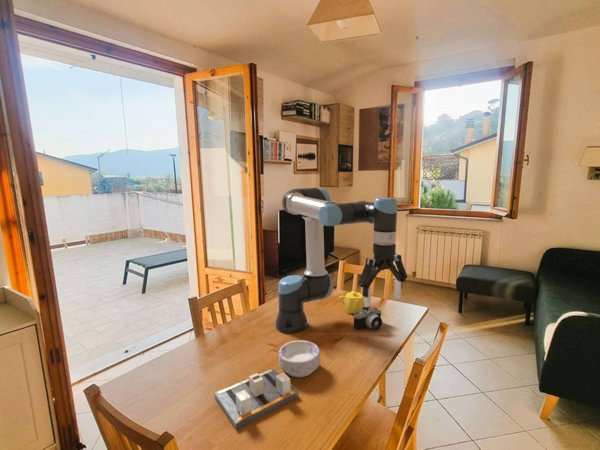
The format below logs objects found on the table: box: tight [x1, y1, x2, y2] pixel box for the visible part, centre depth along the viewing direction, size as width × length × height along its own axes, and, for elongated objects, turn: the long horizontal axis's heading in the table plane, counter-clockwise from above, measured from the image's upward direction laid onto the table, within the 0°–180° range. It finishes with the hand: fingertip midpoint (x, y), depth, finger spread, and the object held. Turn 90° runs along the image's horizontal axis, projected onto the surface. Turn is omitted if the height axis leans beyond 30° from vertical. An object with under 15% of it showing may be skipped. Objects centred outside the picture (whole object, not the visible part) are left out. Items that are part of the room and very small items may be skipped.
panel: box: [214, 368, 300, 430], centre depth 103 cm, size 16×22×7 cm
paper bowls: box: [278, 339, 321, 378], centre depth 118 cm, size 15×15×8 cm
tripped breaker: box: [248, 372, 264, 397], centre depth 103 cm, size 4×3×5 cm
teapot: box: [339, 290, 366, 315], centre depth 167 cm, size 14×13×10 cm
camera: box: [353, 305, 383, 331], centre depth 149 cm, size 16×9×10 cm, turn 117°
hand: (382, 301), depth 113 cm, fingers open, 13 cm apart
